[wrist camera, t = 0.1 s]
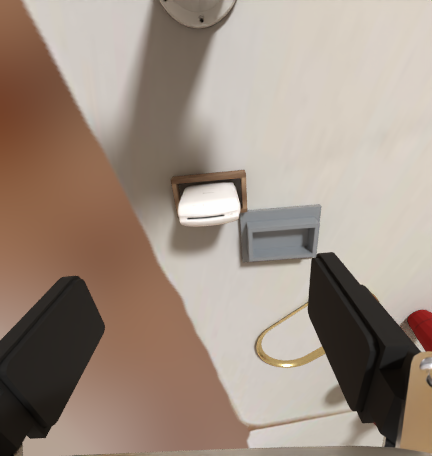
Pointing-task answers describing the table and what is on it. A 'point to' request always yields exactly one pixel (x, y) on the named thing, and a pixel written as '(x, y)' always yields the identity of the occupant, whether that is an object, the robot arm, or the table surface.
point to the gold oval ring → (289, 363)
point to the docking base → (280, 233)
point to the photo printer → (209, 204)
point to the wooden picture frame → (210, 177)
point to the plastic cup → (422, 327)
